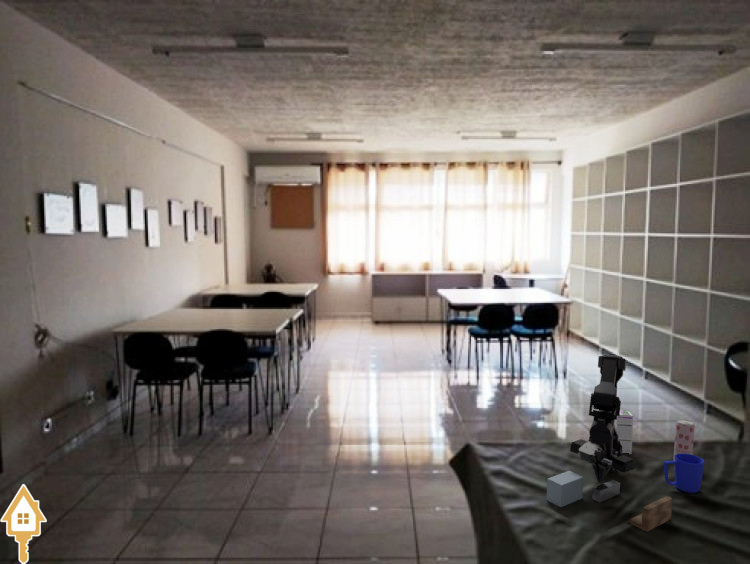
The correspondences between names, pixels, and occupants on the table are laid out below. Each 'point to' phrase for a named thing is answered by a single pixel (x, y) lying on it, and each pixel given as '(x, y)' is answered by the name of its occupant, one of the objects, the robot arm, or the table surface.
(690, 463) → the mug
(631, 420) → the syrup box
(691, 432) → the beverage can
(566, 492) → the blue-grey rectangular block
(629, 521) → the shelf
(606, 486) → the grey rectangular block
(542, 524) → the table surface
